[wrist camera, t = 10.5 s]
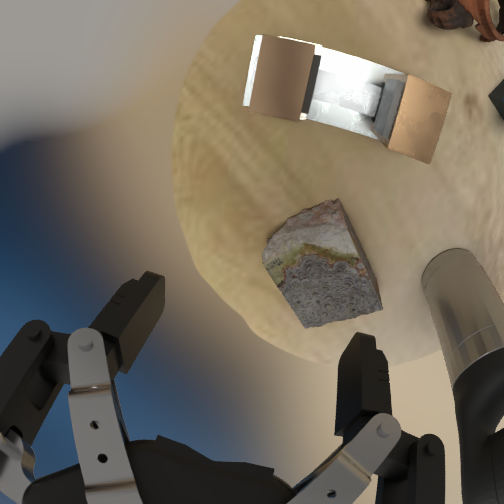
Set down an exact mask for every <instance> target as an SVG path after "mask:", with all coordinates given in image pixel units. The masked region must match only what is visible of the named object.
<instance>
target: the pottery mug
mask: <svg viewBox="0 0 504 504" xmlns="http://www.w3.org/2000/svg"><path fill="white" fill-rule="evenodd" d="M426 1H428V0H426ZM429 1H432V3H431V7H430V8H429V9H428V18H429V19H430V21H431V22H432V23H433V24H434V25H435V26H437V27H439V28H442V29H456V28H459V27H462V28H466V27H470V26H472V25H473V19H475V20H476V21H477V22H478V24H477V25H475V28H476V29H477V30H478V31H479V32H480V33H481V34H482V36H481V38H480V40H481V41H483V42H491V41H494V40H499V41H504V35H503V34H504V0H498V2H499V5H500V9H499V23H498V26H497V28H496V29H495V27H494V24H493V22H492V20H491V15H490V8H489V0H429Z"/></svg>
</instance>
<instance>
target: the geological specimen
mask: <svg viewBox="0 0 504 504" xmlns="http://www.w3.org/2000/svg"><path fill="white" fill-rule="evenodd" d="M267 243H268V245H267V247H266V248H265V249H264V251H263V254H262V262H263V266H264V267H265V269H266V270H267V272H268V273H269V275H270V276H271V278H272V279H273V281H274V282H275V284H276V285H277V287H278V289H279V290H280V291H281V292H282V294H283V296H284V297H285V299H286V300H287V302H288V303H289V305H290V306H291V308H292V309H293V311H294V312H295V314H296V315H297V317H298V319H299V320H300V322H301V323H302V325H303V326H304V328H305V329H306V328H309V327H320V326H323V325H325V324H327V323H331V322H334V321H342V320H346V319H352V318H356V317H358V316H360V315H364V314H370V313H373V312H375V311H380V310H383V307H382V303H381V297H380V293H379V288H378V284H377V281H376V278H375V276H374V273H373V271H372V269H371V266H370V264H369V262H368V260H367V258H366V255H365V253H364V251H363V249H362V247H361V244H360V242H359V240H358V238H357V237H356V235H355V232H354V229H353V227H352V225H351V223H350V221H349V219H348V217H347V215H346V213H345V211H344V209H343V207H342V205H341V203H340V201H339V199H337V200H336V201H332V200H326V201H325V202H324V203H319V204H318V206H315V207H313V208H312V209H303V210H302V211H301V213H300V214H298V215H296V216H293V217H290V218H289V219H287V222H286V224H284V225H283V226H282V228H281V229H280V230H279V231H277V232H276V233H274V234H273V235H272V238H268V239H267Z"/></svg>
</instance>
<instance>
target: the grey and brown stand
mask: <svg viewBox="0 0 504 504" xmlns="http://www.w3.org/2000/svg"><path fill="white" fill-rule="evenodd" d="M278 37H279V36H278ZM282 38H285V37H282ZM287 39H290V38H287ZM293 40H295V39H293ZM261 41H262V36H261V35H256V36H255V41H254V47H253V52H252V57H251V62H250V67H249V73H248V78H247V84H246V89H245V95H244V100H243V105H245V106H249V104H250V99H251V93H252V88H253V82H254V77H255V72H256V66H257V61H258V56H259V51H260V46H261ZM298 41H300V40H298ZM302 42H304V41H302ZM307 43H309V42H307ZM312 44H313V43H312ZM315 54H317V55H321V56H322V57H321V61H320V66H319V70H318V75H317V79H316V84H315V88H314V92H313V97H312V101H311V106H310V110H309V114H305V113H301V116H300V119H302V120H305V119H310V120H314V121H317V122H321V123H325V124H329V125H332V126H336V127H339V128H343V129H346V130H349V131H353V132H356V133H359V134H362V135H365V136H368V137H372V138H375V139H377V140H380V141H381V142H382V143H383V144H384V145H385V147H386V148H387V149H390V150H393V151H395V152H398V153H401V154H404V155H406V156H409V157H412V158H414V159H417V160H419V161H422V162H424V163H427V164H429V165H430V162H431V159H432V156H433V154H434V151H435V148H436V145H437V142H438V139H439V136H440V133H441V129H442V126H443V123H444V120H445V116H446V113H447V109H448V106H449V102H450V99H451V95H452V93H450V92H448V91H445V90H443V89H441V88H439V87H437V86H435V85H433V84H431V83H428V82H426V81H424V80H421V79H419V78H417V77H414V76H412V75H410V74H404V73H401V72H398V71H396V70H393V69H390V68H388V67H385V66H382V65H379V64H376V63H373V62H370V61H367V60H364V59H361V58H358V57H355V56H351V55H348V54H345V53H341V52H337V51H334V50H330V49H326V48H322V45H318V44H316V48H315Z"/></svg>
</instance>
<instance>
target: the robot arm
mask: <svg viewBox="0 0 504 504" xmlns="http://www.w3.org/2000/svg"><path fill="white" fill-rule="evenodd" d="M422 288H423V291H424V294H425V297H426V300H427V303H428V305H429V309H430V312H431V315H432V318H433V321H434V324H435V327H436V331H437V334H438V337H439V341H440V344H441V348H442V351H443V355H444V359H445V362H446V366H447V370H448V374H449V378H450V382H451V387H452V391H453V396H454V401H455V413H456V420H457V426H458V433H459V443H460V458H461V487H462V501H463V504H504V428H503V429H501V430H499V431H497V432H496V433H495V430H496V427H497V425H498V424H499V422H500V420H501V419H502V417H503V416H504V303H503V301H502V300H501V298H500V296H499V294H498V292H497V291H496V289H495V287H494V285H493V284H492V282H491V280H490V279H489V277H488V275H487V274H486V272H485V270H484V269H483V267H482V266H480V265H479V263H478V261H477V260H476V258H475V257H474V256H473V254H472V253H470V252H469V251H467V250H464V249H451V250H448V251H445V252H443V253H441V254H440V255H438V256H437V257H436V258H434V259H433V260H432V261H431V262H430V263H429V265H428V266H427V268H426V269H425V272H424V274H423V278H422ZM164 305H165V277H164V276H162V275H159V274H156V273H153V272H150V271H146V272H145V273H144V274H143V275H142V277H141V278H140V279H139V281H137V280H135V279H132V280H129V281H128V282H126V283H124V284H123V285H122V286H121V287H120V288H119V289H118V290H117V292H116V293H115V295H114V296H113V297H112V298H111V299H110V302H108V303H107V304H106V306H105V307H104V308H103V310H102V311H101V312H100V313H99V315H98V316H97V317H96V319H95V320H94V321H93V322H92V324H91V325H90V326H89V327H88V328H82V329H78V330H76V331H75V332H73V333H72V334H65V333H58V332H52V331H51V330H50V327H49V325H47V323H46V322H44V321H41V320H32V321H29V322H28V323H26V324H25V325H24V326H23V327H22V328H21V330H20V331H19V332H18V333H17V335H16V336H15V337H14V339H13V340H12V342H11V343H10V344H9V345H8V347H7V348H6V350H5V351H4V352H3V354H2V356H1V357H0V491H1V492H3V493H4V494H5V495H7V496H8V497H9V498H11V499H12V500H14V501H15V502H17V503H18V504H352V503H353V502H354V501H355V500H356V499H357V498H358V497H359V496H360V494H361V493H362V492H363V491H364V490H365V489H366V488H367V486H368V485H369V484H370V482H371V478H370V477H371V476H372V474H373V473H374V474H376V475H378V484H377V492H376V501H375V504H445V450H444V445H443V443H442V441H441V440H440V438H439V437H437V436H436V435H434V434H425V435H423V436H422V437H421V438H418V437H415V436H413V435H411V434H408V433H406V432H404V431H403V430H401V427H400V424H399V422H398V421H397V420H396V419H395V418H394V417H393V416H392V407H391V393H390V383H389V374H388V372H389V371H388V361H387V359H386V357H385V355H384V353H383V351H381V350H377V349H376V340H375V337H374V336H372V335H368V334H364V333H360V332H357V333H355V335H354V336H353V338H352V339H351V341H350V343H349V344H348V346H347V347H346V349H345V350H344V352H343V354H342V355H341V358H340V360H339V365H338V382H337V404H336V420H335V433H334V435H336V436H342V437H343V443H342V444H341V445H340V446H339V447H338V448H337V449H336V450H335V451H334V452H333V453H332V454H331V455H330V456H329V457H328V458H327V459H326V460H324V461H323V462H322V463H321V464H320V465H319V466H318V467H317V468H316V469H315V470H314V471H313V472H312V473H310V474H309V475H308V476H307V477H305V478H304V479H303V480H301V481H300V482H299V483H298V484H296V485H295V486H294V487H293V488H291V486H290V485H288V484H287V483H286V482H285V481H283V480H282V479H280V478H279V477H277V476H275V475H273V473H274V469H273V468H269V467H264V466H259V465H255V464H250V463H246V462H219V461H218V462H217V461H213V460H210V459H209V458H207V457H205V456H203V455H202V454H200V453H198V452H197V451H195V450H193V449H191V448H190V447H188V446H187V445H185V444H182V443H178V442H176V441H173V440H170V439H168V438H165V437H162V436H160V435H158V436H157V438H156V440H135V441H130V438H129V435H128V431H127V428H126V425H125V422H124V419H123V415H122V411H121V407H120V403H119V398H118V394H117V389H116V385H115V380H114V378H115V376H116V374H117V372H118V371H120V372H122V373H124V374H127V373H128V371H129V369H130V368H131V366H132V364H133V362H134V361H135V359H136V357H137V356H138V354H139V352H140V350H141V349H142V347H143V345H144V343H145V342H146V340H147V338H148V337H149V335H150V333H151V332H152V330H153V328H154V327H155V325H156V323H157V322H158V320H159V318H160V317H161V315H162V312H163V309H164ZM64 384H70V385H71V391H69V394H68V399H69V407H70V414H71V421H72V427H73V433H74V439H75V444H76V449H77V453H78V458H79V463H78V464H76V465H73V466H71V467H68V468H65V469H63V470H60V471H57V472H55V473H52V474H50V475H47V476H44V477H41V478H38V479H36V480H35V477H34V473H33V468H34V464H35V454H34V451H33V449H32V448H31V445H32V443H33V441H34V439H35V437H36V435H37V433H38V431H39V429H40V427H41V425H42V423H43V421H44V420H45V418H46V416H47V414H48V412H49V410H50V408H51V406H52V405H53V403H54V401H55V399H56V397H57V396H58V394H59V392H60V390H61V388H62V387H63V385H64Z"/></svg>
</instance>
